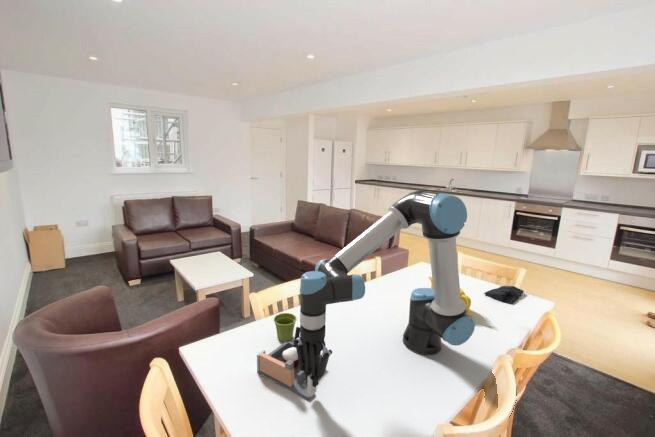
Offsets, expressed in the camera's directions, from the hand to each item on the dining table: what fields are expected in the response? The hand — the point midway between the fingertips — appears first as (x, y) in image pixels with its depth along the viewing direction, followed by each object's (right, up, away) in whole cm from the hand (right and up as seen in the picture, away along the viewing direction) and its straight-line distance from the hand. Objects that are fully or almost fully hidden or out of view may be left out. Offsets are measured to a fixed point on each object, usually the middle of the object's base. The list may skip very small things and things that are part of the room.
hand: (311, 393), depth 97 cm
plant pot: (-13, +5, +32) cm, 35 cm away
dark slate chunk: (+105, +10, +79) cm, 132 cm away
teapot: (+65, +8, +60) cm, 89 cm away
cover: (-12, +1, +8) cm, 14 cm away
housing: (-6, +1, +12) cm, 13 cm away
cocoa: (-8, +2, +15) cm, 17 cm away
